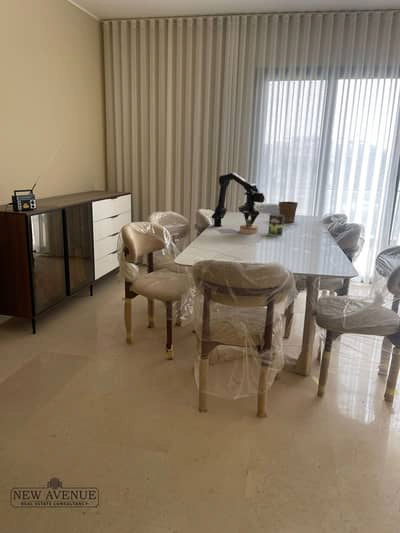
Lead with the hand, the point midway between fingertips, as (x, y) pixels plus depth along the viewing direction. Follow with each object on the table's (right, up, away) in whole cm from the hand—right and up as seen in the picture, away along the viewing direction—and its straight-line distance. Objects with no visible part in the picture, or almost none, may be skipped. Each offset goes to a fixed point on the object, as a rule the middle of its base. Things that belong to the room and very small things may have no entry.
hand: (249, 222), depth 283 cm
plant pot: (+38, +6, +47) cm, 61 cm away
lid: (0, -3, +1) cm, 4 cm away
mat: (-16, -6, +4) cm, 17 cm away
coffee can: (+19, -9, -3) cm, 21 cm away
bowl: (0, -7, +2) cm, 7 cm away
